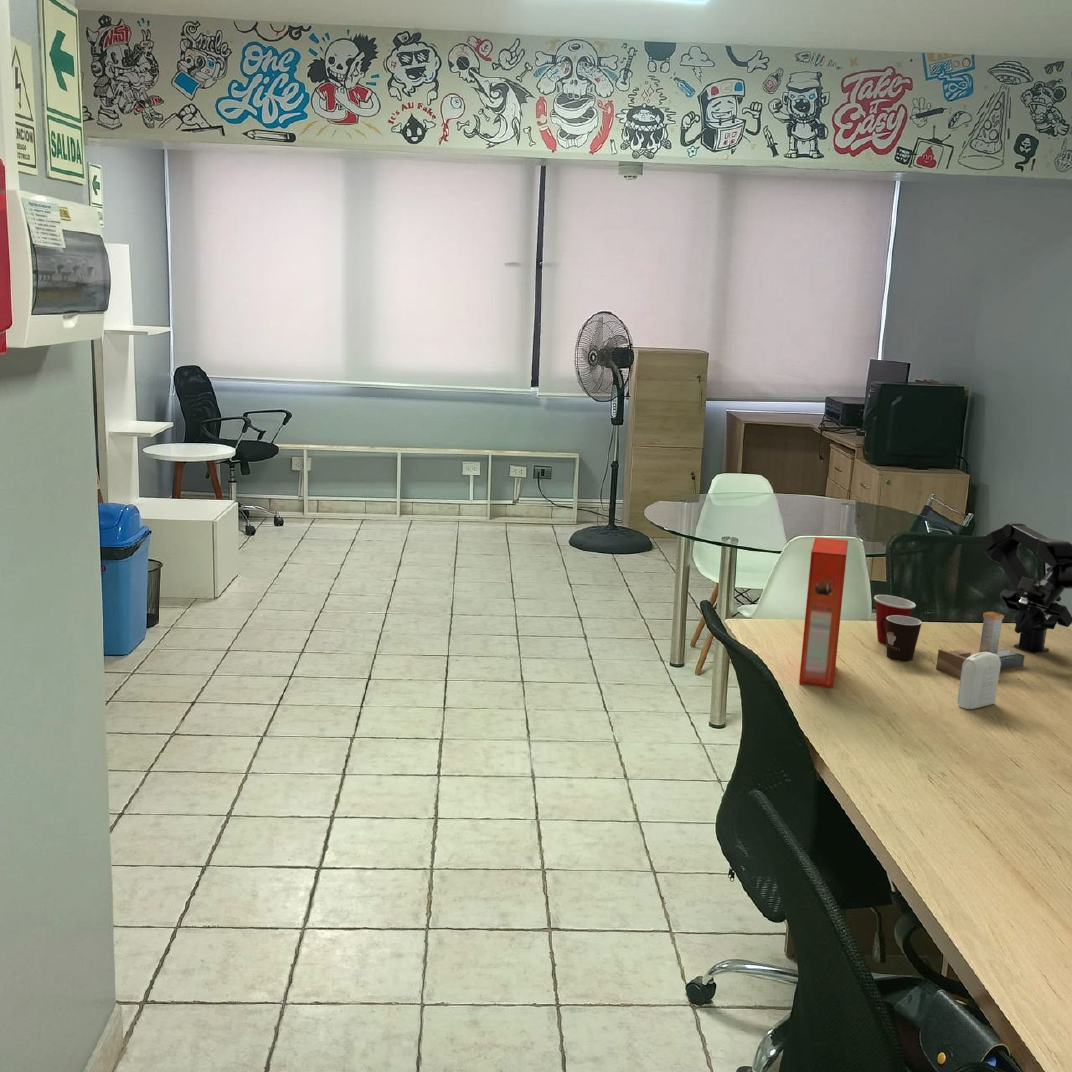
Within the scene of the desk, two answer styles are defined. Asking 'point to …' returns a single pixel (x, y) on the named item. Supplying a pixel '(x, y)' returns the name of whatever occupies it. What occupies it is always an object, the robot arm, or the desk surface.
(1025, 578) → the robot arm
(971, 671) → the photo printer
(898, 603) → the plastic cup
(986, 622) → the grey orange-topped post
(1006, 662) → the sleeve
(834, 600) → the file binder
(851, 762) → the desk surface
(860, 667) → the desk surface
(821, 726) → the desk surface
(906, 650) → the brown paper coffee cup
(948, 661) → the socket
